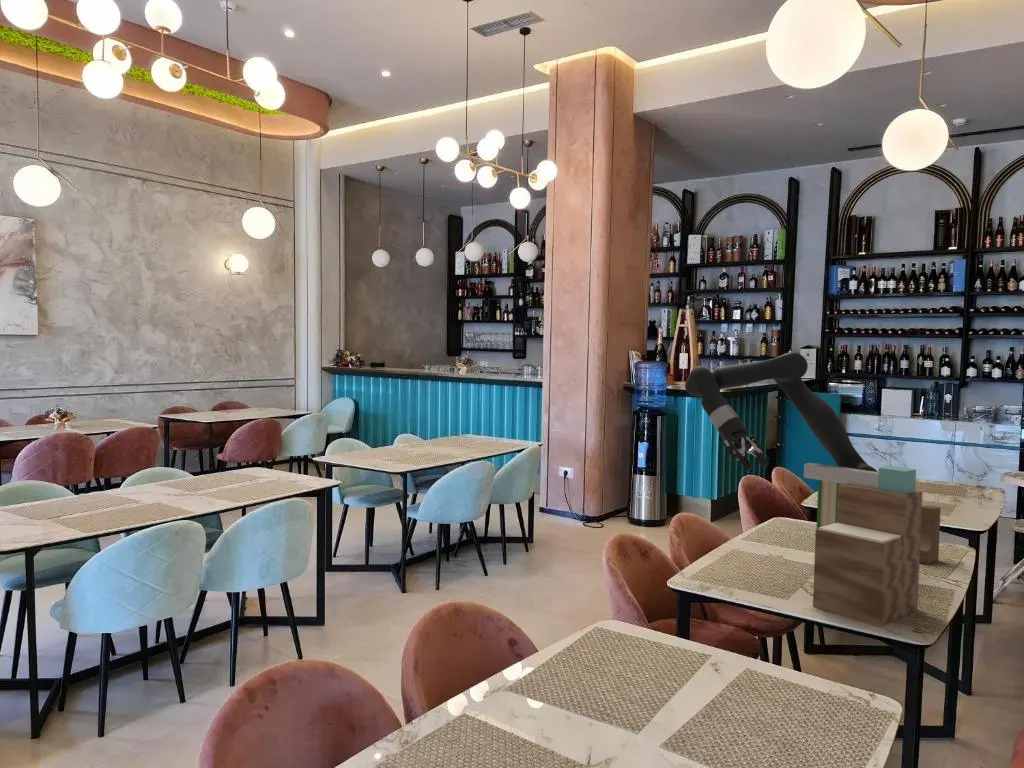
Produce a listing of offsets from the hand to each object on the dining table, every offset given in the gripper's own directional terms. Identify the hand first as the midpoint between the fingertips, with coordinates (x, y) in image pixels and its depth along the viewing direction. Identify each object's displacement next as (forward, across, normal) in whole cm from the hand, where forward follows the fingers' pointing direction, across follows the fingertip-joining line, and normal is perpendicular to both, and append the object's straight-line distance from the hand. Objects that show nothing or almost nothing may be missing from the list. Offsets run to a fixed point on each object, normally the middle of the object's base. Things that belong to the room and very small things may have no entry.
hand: (757, 467), depth 218 cm
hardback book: (+20, -70, -31) cm, 79 cm away
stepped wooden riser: (+46, -3, 0) cm, 46 cm away
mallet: (+18, -9, +17) cm, 27 cm away
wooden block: (+42, -65, -6) cm, 78 cm away
